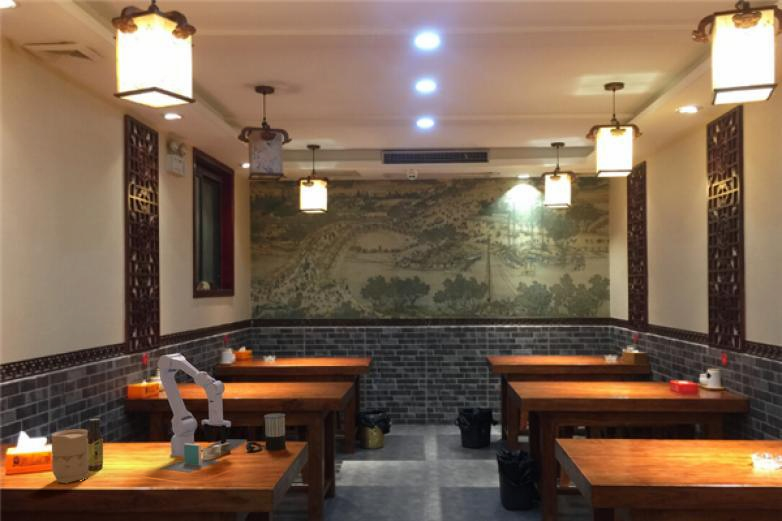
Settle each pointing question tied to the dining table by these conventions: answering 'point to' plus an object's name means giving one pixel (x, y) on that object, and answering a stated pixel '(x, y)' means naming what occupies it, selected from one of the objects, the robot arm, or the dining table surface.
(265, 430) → the milk frother
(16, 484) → the dining table surface
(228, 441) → the notebook
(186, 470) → the slate mat
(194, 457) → the tile
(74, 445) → the container
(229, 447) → the long wooden beam
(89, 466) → the sauce bottle
